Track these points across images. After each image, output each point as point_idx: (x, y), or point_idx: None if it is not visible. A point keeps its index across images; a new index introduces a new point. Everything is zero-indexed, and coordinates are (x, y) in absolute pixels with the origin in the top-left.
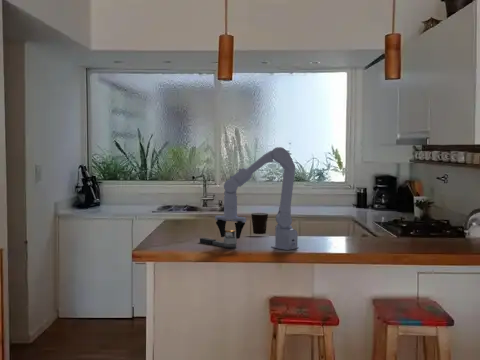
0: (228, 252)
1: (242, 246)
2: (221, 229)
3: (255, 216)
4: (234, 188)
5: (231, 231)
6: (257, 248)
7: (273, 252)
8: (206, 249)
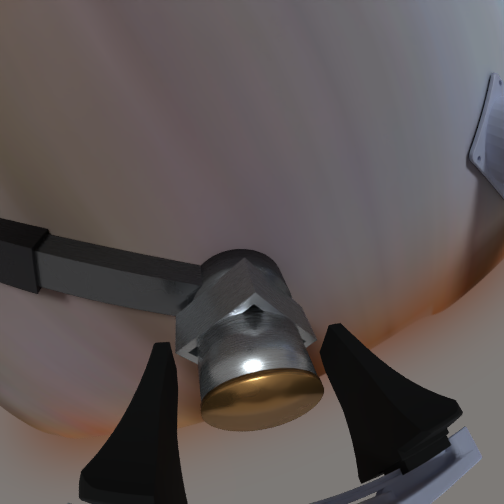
0: None
1: (302, 195)
2: (176, 439)
3: None
4: None
5: (295, 417)
6: (413, 214)
7: (466, 264)
8: None
